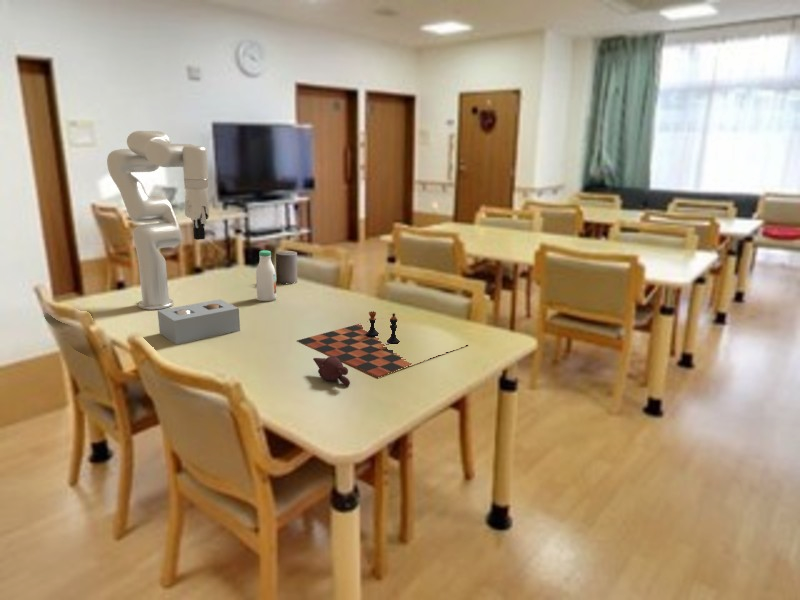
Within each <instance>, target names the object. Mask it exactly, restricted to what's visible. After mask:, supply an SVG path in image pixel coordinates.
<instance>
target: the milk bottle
mask: <svg viewBox="0 0 800 600" xmlns="http://www.w3.org/2000/svg"><path fill="white" fill-rule="evenodd" d="M258 255H259V260H258V262H259V263H258V264H257V268H256V270H255V274H256V275H255V276H256V278H255V280H256V281H255V282H256V298H257V300H258V301H260V302H271V301H274V300H276V299H277V282H276V267H275V266H274V265H273V262H272V258H271V257H272V252H271V251H270V250H266V249H265V250H260V251H259V252H258Z"/></svg>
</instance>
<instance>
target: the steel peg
mask: <svg viewBox="0 0 800 600" xmlns="http://www.w3.org/2000/svg"><path fill="white" fill-rule="evenodd" d="M177 313H178V315H179V316H180V315H185V314H190V313H191V312H190V309H180V310H178V311H177Z"/></svg>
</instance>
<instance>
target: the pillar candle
mask: <svg viewBox="0 0 800 600" xmlns="http://www.w3.org/2000/svg"><path fill="white" fill-rule="evenodd" d="M275 275H276V284H279V283H281V285H287V284H286V283H294V282H296V283H298V252H297V251H293V250H279V251H276V252H275ZM294 284H295V283H294Z"/></svg>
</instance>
